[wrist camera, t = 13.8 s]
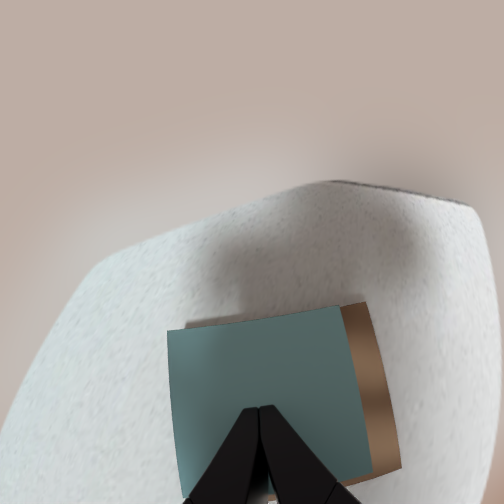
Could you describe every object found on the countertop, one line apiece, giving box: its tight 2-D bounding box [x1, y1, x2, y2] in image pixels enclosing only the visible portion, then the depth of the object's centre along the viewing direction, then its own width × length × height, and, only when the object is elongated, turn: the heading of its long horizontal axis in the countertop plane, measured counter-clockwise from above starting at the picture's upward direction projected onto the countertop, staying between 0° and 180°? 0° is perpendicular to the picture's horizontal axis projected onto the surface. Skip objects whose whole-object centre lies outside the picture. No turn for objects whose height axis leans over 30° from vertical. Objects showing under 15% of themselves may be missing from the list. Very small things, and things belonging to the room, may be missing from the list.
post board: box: [268, 302, 402, 501], centre depth 16 cm, size 13×14×5 cm
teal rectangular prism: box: [167, 305, 373, 498], centre depth 12 cm, size 6×6×11 cm
